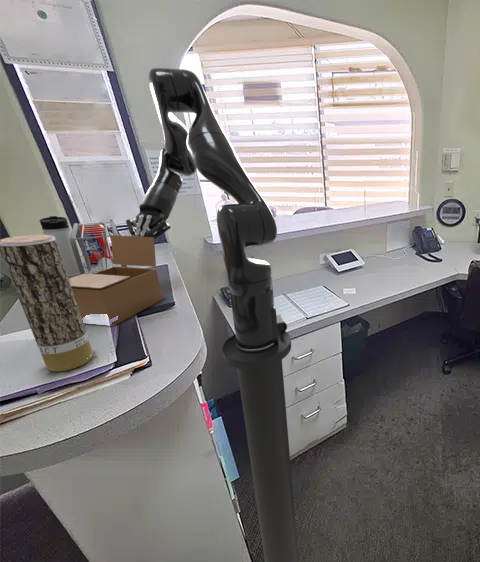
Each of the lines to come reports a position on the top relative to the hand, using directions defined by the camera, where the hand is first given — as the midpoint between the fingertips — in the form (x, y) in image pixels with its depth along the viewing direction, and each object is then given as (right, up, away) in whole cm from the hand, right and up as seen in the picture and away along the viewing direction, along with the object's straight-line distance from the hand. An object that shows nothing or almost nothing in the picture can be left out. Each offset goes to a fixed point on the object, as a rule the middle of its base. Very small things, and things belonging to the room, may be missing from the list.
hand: (136, 249), depth 88 cm
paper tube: (+8, -25, -26) cm, 37 cm away
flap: (0, 0, -1) cm, 1 cm away
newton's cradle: (-20, -9, +15) cm, 27 cm away
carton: (-2, -17, -5) cm, 17 cm away
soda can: (-40, -1, +34) cm, 53 cm away
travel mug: (-36, -8, +18) cm, 40 cm away
